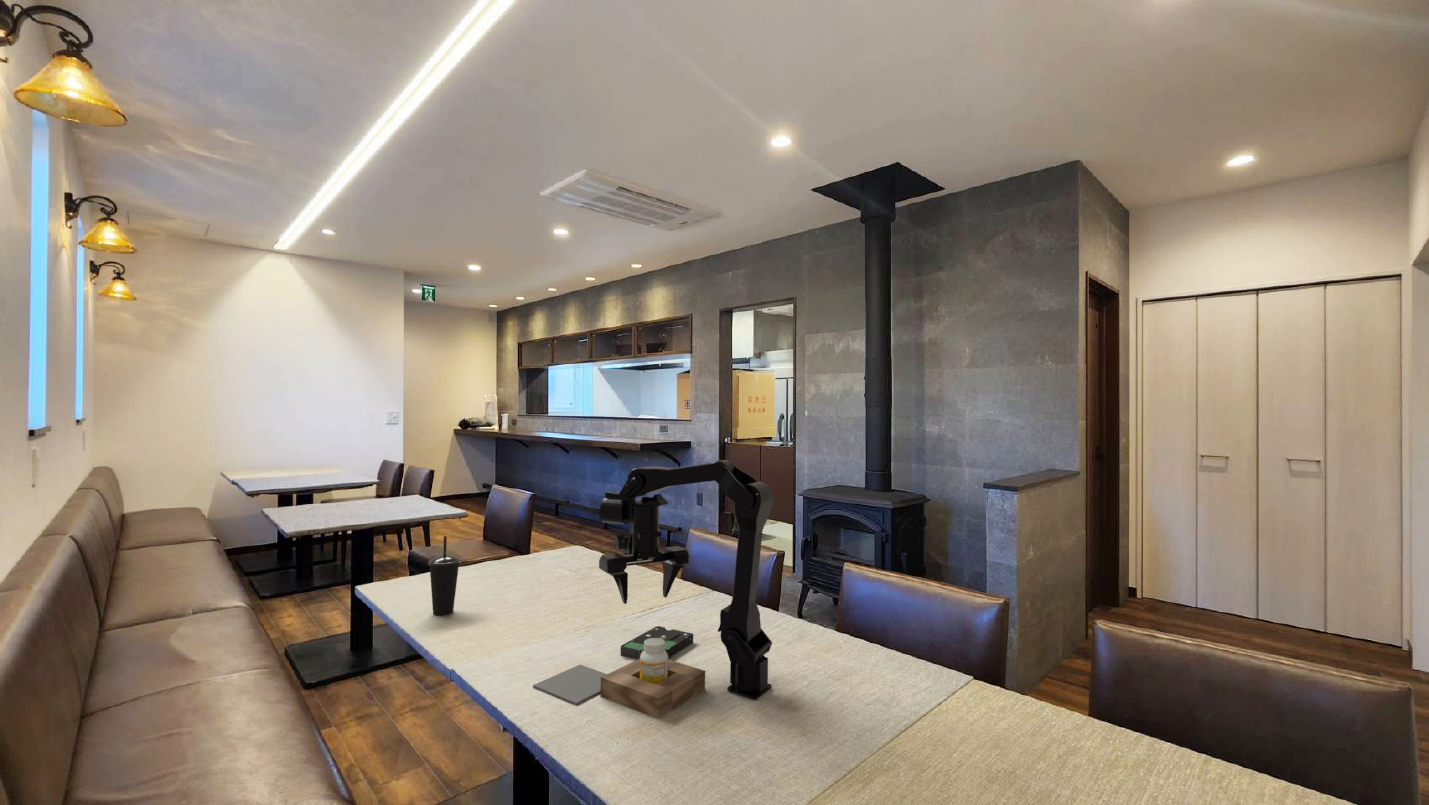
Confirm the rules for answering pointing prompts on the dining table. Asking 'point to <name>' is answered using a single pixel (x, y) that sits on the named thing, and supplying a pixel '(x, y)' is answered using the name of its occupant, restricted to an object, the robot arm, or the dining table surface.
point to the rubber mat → (573, 684)
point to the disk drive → (672, 638)
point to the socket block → (652, 688)
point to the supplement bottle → (654, 661)
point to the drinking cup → (443, 582)
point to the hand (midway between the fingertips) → (645, 600)
